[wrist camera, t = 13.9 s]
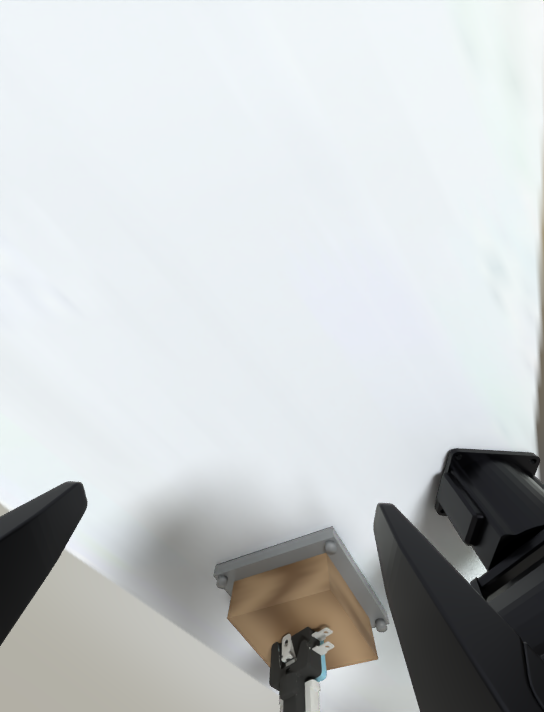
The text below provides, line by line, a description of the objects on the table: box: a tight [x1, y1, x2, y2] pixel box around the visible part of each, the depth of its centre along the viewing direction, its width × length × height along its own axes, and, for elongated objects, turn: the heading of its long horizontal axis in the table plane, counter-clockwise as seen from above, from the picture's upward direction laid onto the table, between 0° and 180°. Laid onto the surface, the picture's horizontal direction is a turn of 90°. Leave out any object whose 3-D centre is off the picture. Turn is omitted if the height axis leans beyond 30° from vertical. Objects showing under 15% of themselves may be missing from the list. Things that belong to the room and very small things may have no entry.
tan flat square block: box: [227, 553, 378, 670], centre depth 26 cm, size 10×10×3 cm
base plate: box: [214, 526, 389, 632], centre depth 28 cm, size 13×13×2 cm
